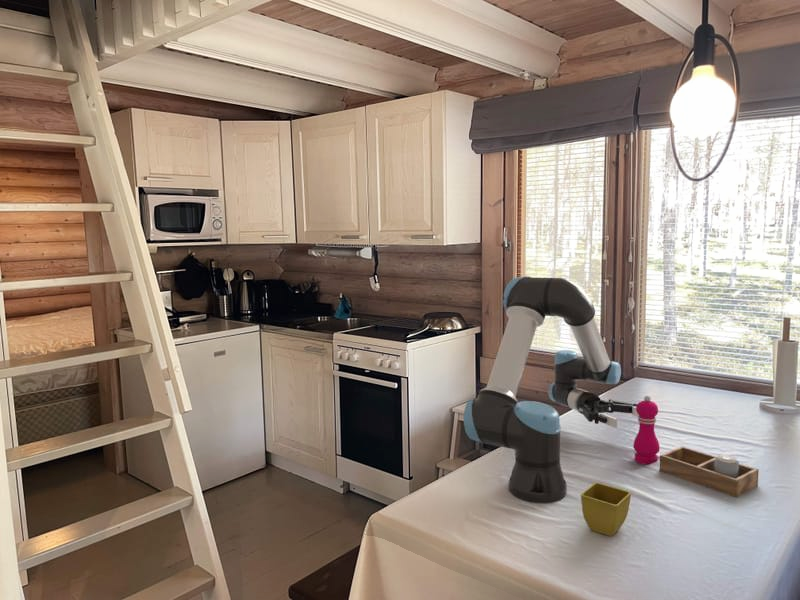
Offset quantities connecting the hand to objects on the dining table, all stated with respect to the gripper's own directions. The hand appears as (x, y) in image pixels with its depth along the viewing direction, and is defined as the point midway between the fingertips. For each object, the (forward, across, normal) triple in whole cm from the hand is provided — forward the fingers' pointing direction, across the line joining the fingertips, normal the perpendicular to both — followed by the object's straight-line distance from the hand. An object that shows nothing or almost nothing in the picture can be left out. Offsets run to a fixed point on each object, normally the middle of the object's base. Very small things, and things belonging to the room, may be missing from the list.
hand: (633, 419), depth 182 cm
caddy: (+24, -2, -11) cm, 27 cm away
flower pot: (+31, +40, -11) cm, 52 cm away
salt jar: (+29, -3, -10) cm, 31 cm away
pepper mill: (+6, +1, -11) cm, 13 cm away
